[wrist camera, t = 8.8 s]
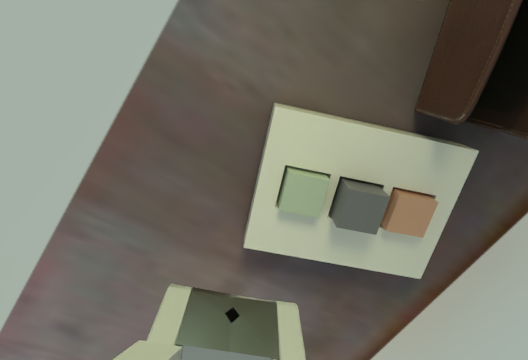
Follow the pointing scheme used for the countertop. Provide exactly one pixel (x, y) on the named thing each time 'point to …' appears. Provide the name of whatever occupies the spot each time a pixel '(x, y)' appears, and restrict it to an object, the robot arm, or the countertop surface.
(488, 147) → the countertop surface
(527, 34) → the letter holder
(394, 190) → the terracotta key
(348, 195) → the charcoal key
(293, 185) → the sage key
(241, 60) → the countertop surface
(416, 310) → the countertop surface
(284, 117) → the cream key base
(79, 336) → the countertop surface
